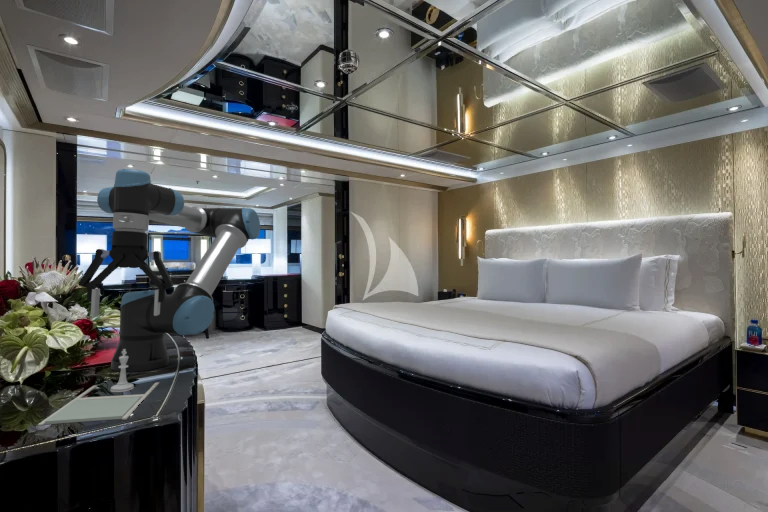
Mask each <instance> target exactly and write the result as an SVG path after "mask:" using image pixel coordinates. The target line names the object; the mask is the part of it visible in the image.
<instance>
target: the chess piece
mask: <svg viewBox="0 0 768 512" xmlns="http://www.w3.org/2000/svg"><path fill="white" fill-rule="evenodd" d="M122 353H123V356H121V357H119V360H120V363H121V366H119V367H118V368H121V371H119V372H120V373H119V380H118V382H116V384H113V385H111V387H110V392H111V393H123V392H124V393H125V392H129V391H133V389H134V388H135V385H134V384H133V383H130V382H129V381H127V372H126V368H127V367H128V365H126V363H127V360H128V358H129V357H128V356H125V354H127V352H126V349H123V351H122Z"/></svg>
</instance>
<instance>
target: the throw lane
mask: <svg viewBox="0 0 768 512" xmlns="http://www.w3.org/2000/svg"><path fill="white" fill-rule="evenodd" d="M159 384H160V382H157V381H156V382H155V383H153V384H152V385H151V387H149V389H148V390H147V391H146V392H145V393H143V394H142V393H140V394H126V395H107V396H106V395H105V396H91V397H90V396H89V397H85V396H86V395H87V394H89V393H90V392H92V391H93V390H95V389H96V388H97V387H98V385H97V384H95V385H92V386H91V387H89V388H88V389H86V390H85V391H84V392H82V393H81V394H79V395H77V396H76V397H75V398H74V399H72V400H70V401H69V402H68V403H67V404H64V405H63V406H61V408H59V409H58V410H56V411H55V412H53V413H52V414H51V415H49V416H48V417H46V418H45V419H43V420H42V421H41V422H39V423H38V424H37V426H38V427H40V426H41V427H43V426H45V425H53V424H54V425H55V424H56V425H57V424H66V423H67V424H69V423H70V424H71V423H81V422H82V423H84V422H93V421H94V422H95V421H112V420H122V421H123V420H127V419H128V418H129V417H130V416H131V414H133V413H134V412H133V411H136V409H138V407H139V406H140V405H141V404H142V403H143V402H144V401H145V400H146V399H147V397H148V396H149V395H150V394H151V393H152V392H153V391H154V390H155V389H156V387H157V386H158V385H159ZM143 400H144V401H143ZM142 401H143V402H142ZM141 402H142V403H141ZM139 404H140V405H139ZM138 405H139V406H138Z"/></svg>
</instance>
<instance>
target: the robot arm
mask: <svg viewBox="0 0 768 512" xmlns="http://www.w3.org/2000/svg"><path fill="white" fill-rule="evenodd" d="M96 198H97V199H96V201H97V205H98V207H99V209H100V210H101V211H102V212H104V213H107V214H113V215H112V217H113V218H112V228H113V230H114V231H113V232H112V233H111V234H112V236H111V249H110V250H105V249H104V248H98V249H96V251H95V252H94V253H95V254H94V258H93V260H91V261H92V262H90V265H88V267H87V269H86V271H85V272H84V273H83V274H82V277H80V279H79V281H78V282H77V284H78V286H79V287H83V288H86V291H87V292H86V300H87V303H90V317H96V316H98V315H99V314H100V298H101V288H98V286H100V284H102V283H103V282H104V280H106V279H107V278H108V277H109V276H110V275H111V274H112V273H113V272H115V270H116V269H118V268H120V269H124V268H125V269H137V268H139V269H140V270H141V271H142V272H143V273H144V274H145V275H146V277H148V279H149V280H151V282H152V283H153V284H154V285H155V286H156V287H157V289H152V290H150V289H149V290H141V291H140V290H139V291H130V292H126V293H123V295H122V297H121V303H120V315H119V340H118V341H119V342H118V344H117V346H116V348H115V351H114V354H113V355H112V358H111V360H110V361H111V363H110V369H111V370H113V371H115V372H121V368H118V367H119V366H121V363H120V360H119V357H121V356H123V353H122V351H123V349H126V352H127V354H125V356H128V357H129V358H128V360H127V363H126V365H128V367H127V368H126V373H127V372H144V371H150V370H155V369H160V368H163V367H166V366H168V365H169V363H170V356H169V352H168V349H167V345H166V342H165V338H164V336H165V334H175V335H182V336H188V335H198V334H201V333H202V332H204V331H205V330H207V329H208V327H209V326H210V325H211V323H212V321H213V319H214V316H215V315H214V312H215V304H214V298H213V296H212V295H213V294H214V291H215V290H216V288H217V286H218V285H219V283H220V281H221V279H222V278H223V276H224V274H225V272H226V270H227V269H228V267H229V266H230V264H231V262H232V260H233V259H234V257H235V256H236V254H237V252H238V250H239V249H242V248H244V247H245V246H246V245H247V244H248V241H249V240H256V239H257V238H258V237H259V236H260V234H261V233H260V232H261V221H260V218H259V215H258V213H257V211H256V210H255V209H253V208H250V207H211V208H210V207H207V208H206V207H200V206H192V207H190V206H187V205H185V199H184V196H183V195H182V193H180V191H177V190H175V189H173V188H171V187H165V186H161V185H157V184H154V183H152V180H151V175H150V174H149V173H148V172H146V171H143V170H139V169H134V168H133V169H131V168H122V169H121V168H120V169H119V170H117V171H116V173H115V177H114V184H113V186H111V187H110V186H109V187H103V188H102V189H101V190H100V191H98V194H97V197H96ZM149 221H153V222H158V223H163V224H167V225H171V226H175V227H180V228H185V230H186V231H188V232H190V233H194V234H198V235H202V236H205V237H209V238H214V239H213V240H212V242H211V244H210V245H209V247H208V248H207V249H206V251H205V252H204V254H203V256H202V257H201V258H200V260H199V262H198V263H197V265H196V266H195V268H194V269H193V271H192V272H191V274H190V275H189V277H188V279H187V280H186V281H185V282H183V283H182V282H181V283H179V284H178V285H177V286H176V287H175V289H174V290H173V291H172V293H171V294H167V291H166V290H167V289H169V288H172V287H174V281H173V280H172V278H171V276H170V274H169V272H168V270H167V268H166V265H165V264H164V262H163V260H162V253H161V251H158V250H154V251H148V239H149V238H148V237H149V235H148V233H146V232H148V230H149ZM108 256H109V257H110V258H111V259H112V260H111V261H110V262H109V263H108V265H107V266H106V267H105V268H103V270H102V271H101V272H100V273H99V274H97V275H96V277H94V276H95V274H96V273H97V271H98V269H99V268H100V266H101V265H102V264H103V262H104V260H105V259H108ZM149 257H150V259H151V260H152V261H153V262H154V264H155V266H156V268H157V270H158V272H159V274H160V276H161V278H162V280H163V281H162V280H161V278H159V276H157V274H156V273H155V272H154V270H152V269H151V268H150V266H149V265H148V264H147V262H146V260H148V258H149ZM93 277H94V278H93Z"/></svg>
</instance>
